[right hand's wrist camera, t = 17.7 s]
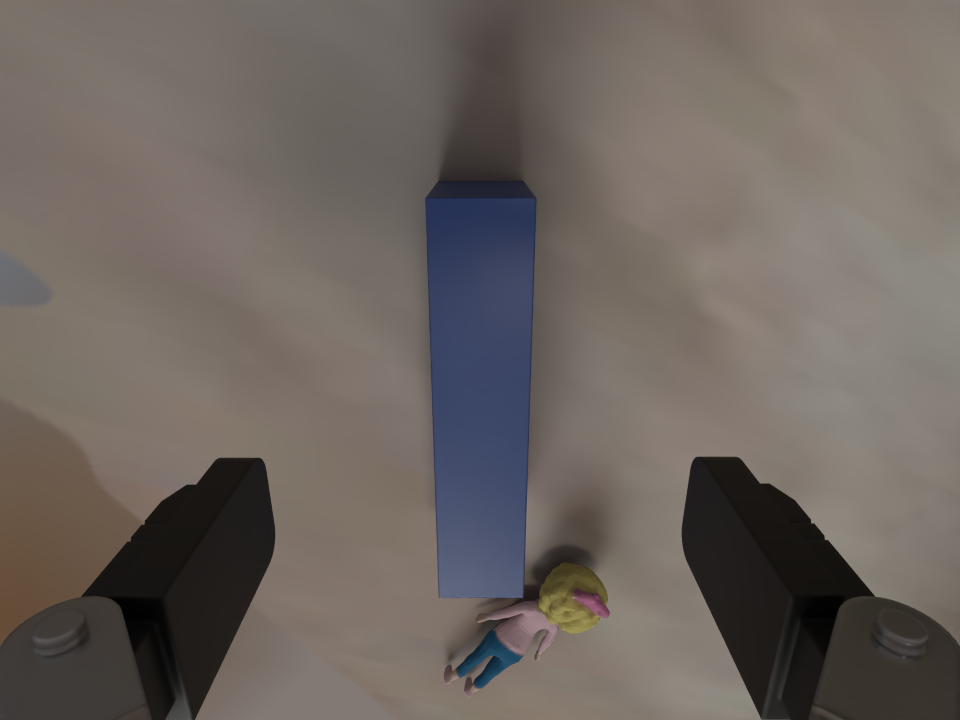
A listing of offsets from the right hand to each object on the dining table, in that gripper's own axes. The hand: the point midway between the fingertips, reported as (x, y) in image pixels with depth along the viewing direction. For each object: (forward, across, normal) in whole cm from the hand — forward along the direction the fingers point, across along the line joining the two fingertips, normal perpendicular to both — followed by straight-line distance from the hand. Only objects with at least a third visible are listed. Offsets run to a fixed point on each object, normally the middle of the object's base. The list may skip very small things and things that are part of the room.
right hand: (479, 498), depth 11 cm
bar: (+25, 0, -8) cm, 26 cm away
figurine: (+25, +3, -28) cm, 38 cm away
